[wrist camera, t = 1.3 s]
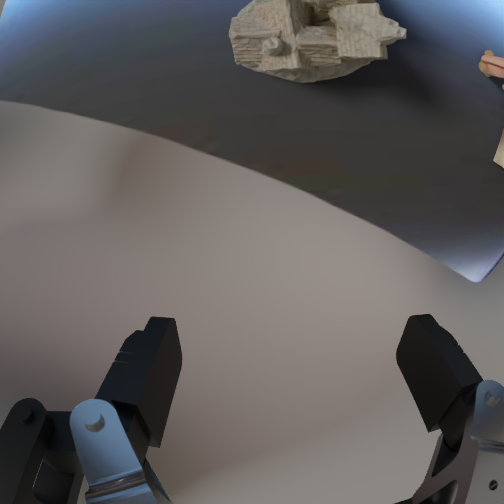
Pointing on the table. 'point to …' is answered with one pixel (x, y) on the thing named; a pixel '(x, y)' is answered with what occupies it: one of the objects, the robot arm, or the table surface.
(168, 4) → the table surface
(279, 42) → the beige jagged towered block
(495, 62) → the grandmother figurine
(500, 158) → the cream base plate
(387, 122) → the table surface
